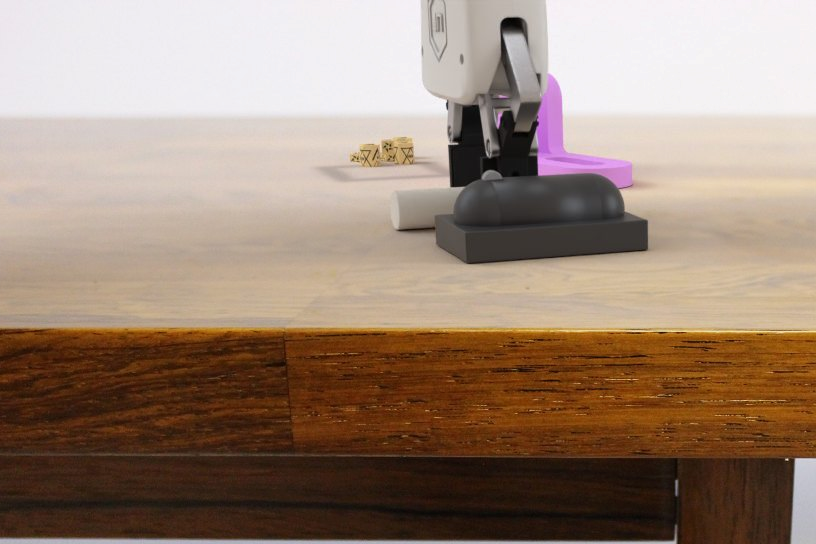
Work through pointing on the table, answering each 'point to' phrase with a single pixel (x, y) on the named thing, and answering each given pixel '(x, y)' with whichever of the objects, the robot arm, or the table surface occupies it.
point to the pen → (421, 206)
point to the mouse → (539, 218)
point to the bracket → (552, 148)
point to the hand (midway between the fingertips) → (494, 216)
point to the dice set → (385, 152)
